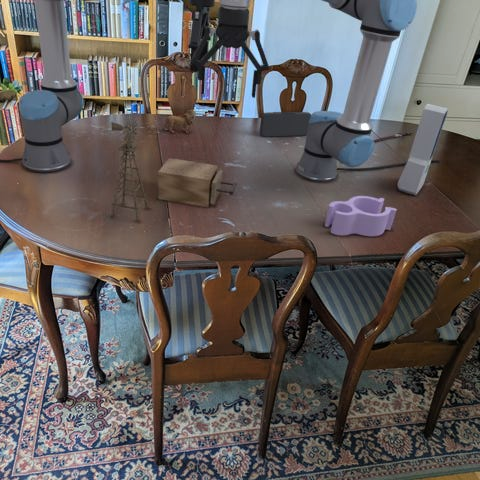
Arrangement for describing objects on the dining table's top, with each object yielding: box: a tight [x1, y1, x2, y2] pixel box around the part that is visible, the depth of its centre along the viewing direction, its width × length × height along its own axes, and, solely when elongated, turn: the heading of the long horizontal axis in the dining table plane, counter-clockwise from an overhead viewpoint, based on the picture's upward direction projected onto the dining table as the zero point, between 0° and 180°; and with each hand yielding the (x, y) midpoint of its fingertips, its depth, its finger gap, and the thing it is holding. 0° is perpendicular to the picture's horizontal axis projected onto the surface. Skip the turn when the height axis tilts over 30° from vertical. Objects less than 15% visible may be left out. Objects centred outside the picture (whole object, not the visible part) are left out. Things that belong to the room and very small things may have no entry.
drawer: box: [209, 169, 238, 205], centre depth 147 cm, size 20×10×8 cm, turn 80°
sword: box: [373, 132, 414, 143], centre depth 214 cm, size 31×3×1 cm, turn 126°
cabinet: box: [157, 157, 219, 208], centre depth 147 cm, size 16×11×9 cm
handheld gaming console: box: [258, 111, 312, 137], centre depth 202 cm, size 23×3×10 cm, turn 108°
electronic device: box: [396, 103, 449, 196], centre depth 162 cm, size 12×8×30 cm, turn 148°
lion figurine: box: [161, 109, 197, 134], centre depth 194 cm, size 15×5×9 cm, turn 110°
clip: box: [324, 195, 398, 237], centre depth 141 cm, size 20×12×7 cm, turn 109°
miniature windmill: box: [110, 111, 149, 222], centre depth 129 cm, size 9×8×30 cm
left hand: (199, 66), depth 148 cm, fingers open, 13 cm apart
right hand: (228, 94), depth 125 cm, fingers open, 13 cm apart
